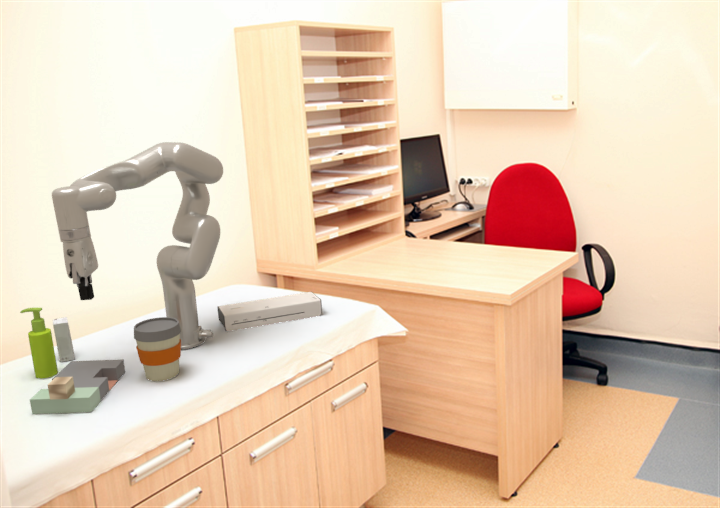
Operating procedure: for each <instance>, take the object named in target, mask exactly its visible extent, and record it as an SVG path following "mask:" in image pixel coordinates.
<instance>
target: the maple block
mask: <svg viewBox="0 0 720 508" xmlns="http://www.w3.org/2000/svg"><path fill="white" fill-rule="evenodd" d="M54 377H55V376H54ZM54 377H53V378H54ZM53 378H52V379H53ZM52 379H51V381H50V382H49V383H48V384H47V389H48V390H49V396H50V400H52V399H68V398H69V397H70V396H71V395H72V394H73V393H74V392H75V387H74V381H73V377H55V378H54V379H53V380H52Z"/></svg>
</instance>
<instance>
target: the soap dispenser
mask: <svg viewBox="0 0 720 508" xmlns="http://www.w3.org/2000/svg"><path fill="white" fill-rule="evenodd" d="M42 310H43V307H28V308H24V309H22V310H21V311H20V312H19V313H20V314H25V313H32V317H33V318H32V319H31V320H30V324H31V330H30V331H29V332H28V333H27V334H28V337H27V338H28V341H29V347H30V353H31V354H30V355H31V359H32V365H33V370H34V377H35V378H36V379H43V380H44V379H49V378H53V377H55V376H56V375H57V374H58V373H59V371H58V365H57V359H56V353H55V347H54V340H53V335H52V334H53V333H52V330H51V328H49V327H46V323H45V318H44V317H41V312H42Z"/></svg>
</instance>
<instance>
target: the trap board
mask: <svg viewBox="0 0 720 508" xmlns="http://www.w3.org/2000/svg"><path fill="white" fill-rule="evenodd" d="M125 373H126V369H125V360H124V359H123V358H122V359H96V360H95V359H92V360H70V362H69V363H68V364H66V365H65V366H64V367H63V368H62V369H61V370H60V371H58V373H57V374H56V375H54V376H53V377H52V379H51V381H52V380H53V379H54V378H55V377H73V381H74V387H75V392H74V393H73V394H72V395H71V396H70V397H69V398H68V399H52V400H50V396H49V390H48V388H41V389H39V391H37V392H36V393H35V394H34V395H33V396H32V397H31V398H30V399H29V404H30V408H31V409H30V410H31V414H32V415H44V414H45V415H48V414H49V415H52V414H72V413H73V414H76V413H77V414H78V413H92V412H93V411H94V410H95V408H96V407H97V406H99V404H100V403H101V402H102V401H103V400H104V398H105V397H106V396H107V394H108V393H109V392H110V391H111V390H112V389H113V388H114V386H115V385H116V384H117V383H118V381H119V380H120V379H121V378H122V377H123V376H122V375H125ZM116 382H117V383H116Z"/></svg>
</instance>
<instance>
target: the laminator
mask: <svg viewBox="0 0 720 508" xmlns="http://www.w3.org/2000/svg"><path fill="white" fill-rule="evenodd" d="M322 306H323V305H322V299H321V298H320V297H319V296H318V295H317V294H315V293H314V292H313V291H307V292H301V293H293V294H288V295H280V296H274V297H269V298H263V299H256V300H251V301H244V302H236V303H231V304H224V305H217V317H218V318H217V319H218V321H219V322H220V323H221V325H222V327H223V328H224V330H225V332H226V331H229V332H233V331H232V330H235V331H239V330H238V329H241V330H244V329H245V328H247V329H251V327H253V328H258V327H263V326H262V325H264V326H268V325H269V324H270V325H275V324H274V323H276V324H280V323H279V322H282V323H287V322H286V321H288V322H292V320H294V321H298V319H299V320H304V318H305V319H310V317H311V318H317V317H321V316H322V314H323V307H322ZM316 316H317V317H316ZM270 325H269V326H270ZM257 326H258V327H257ZM245 330H246V329H245Z"/></svg>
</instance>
